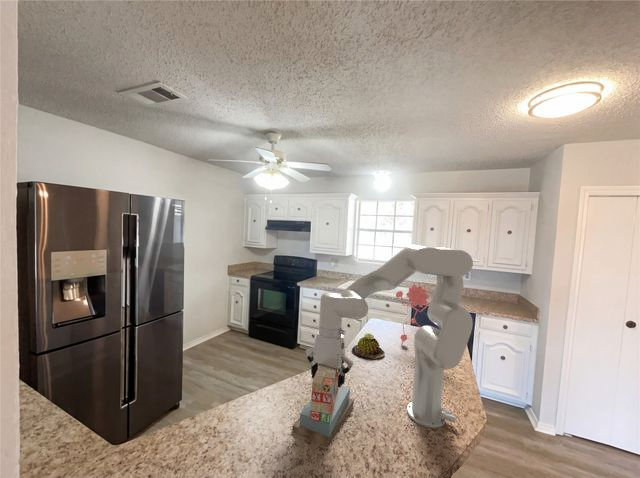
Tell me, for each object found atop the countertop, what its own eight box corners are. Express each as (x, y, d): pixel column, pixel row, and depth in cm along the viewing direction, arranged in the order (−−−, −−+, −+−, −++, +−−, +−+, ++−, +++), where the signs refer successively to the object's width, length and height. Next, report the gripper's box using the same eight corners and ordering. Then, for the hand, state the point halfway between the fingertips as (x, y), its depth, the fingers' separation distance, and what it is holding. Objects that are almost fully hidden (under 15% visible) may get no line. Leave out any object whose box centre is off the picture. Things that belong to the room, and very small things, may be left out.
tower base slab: (353, 410, 97) (353, 399, 97) (326, 454, 77) (326, 441, 77) (324, 399, 102) (324, 388, 102) (292, 437, 83) (292, 425, 83)
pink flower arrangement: (431, 358, 138) (436, 291, 137) (387, 341, 157) (391, 282, 155) (442, 349, 149) (447, 288, 147) (400, 334, 167) (404, 279, 166)
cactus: (350, 356, 136) (351, 337, 135) (353, 343, 151) (354, 326, 151) (384, 362, 132) (385, 343, 131) (384, 348, 147) (385, 331, 147)
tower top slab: (349, 398, 97) (350, 388, 97) (329, 437, 79) (329, 424, 78) (324, 390, 101) (324, 380, 101) (299, 425, 83) (300, 413, 82)
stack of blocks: (323, 380, 101) (325, 348, 100) (339, 383, 100) (341, 351, 99) (309, 420, 80) (312, 380, 79) (330, 424, 79) (332, 384, 78)
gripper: (358, 332, 88) (355, 383, 89) (312, 321, 95) (310, 368, 96) (350, 341, 81) (347, 395, 82) (302, 328, 89) (299, 378, 90)
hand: (327, 380), depth 89 cm, fingers open, 9 cm apart
